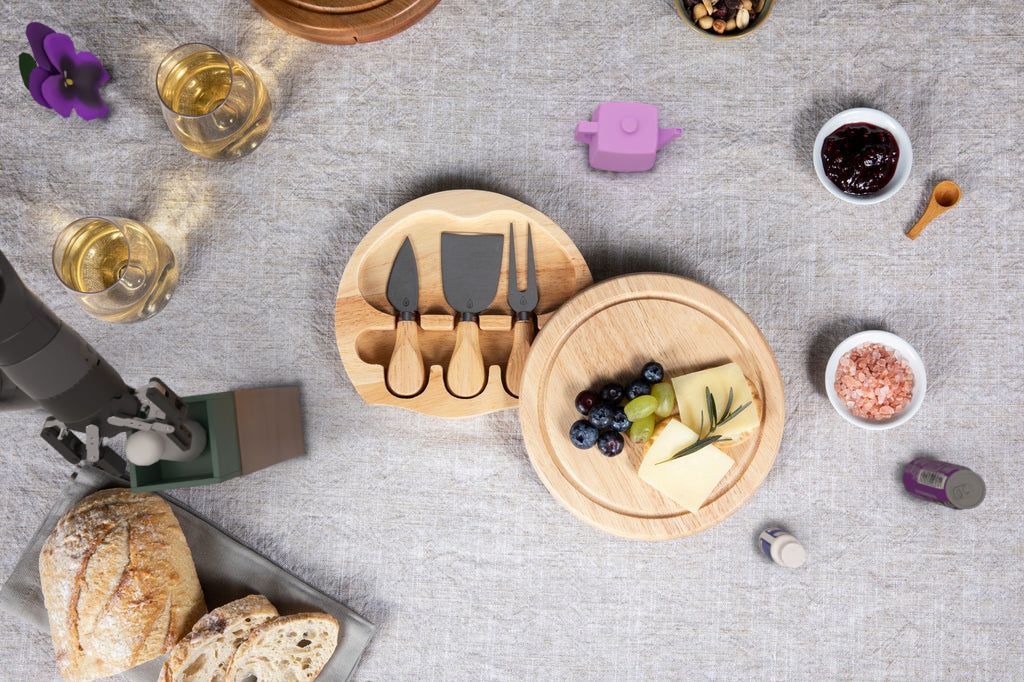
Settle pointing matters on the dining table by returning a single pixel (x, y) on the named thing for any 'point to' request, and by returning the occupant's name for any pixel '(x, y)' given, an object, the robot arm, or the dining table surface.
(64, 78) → the flower
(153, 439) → the salt shaker
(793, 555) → the pill bottle
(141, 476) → the bin
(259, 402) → the stand
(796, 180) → the dining table surface
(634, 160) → the teapot
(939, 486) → the beverage can
